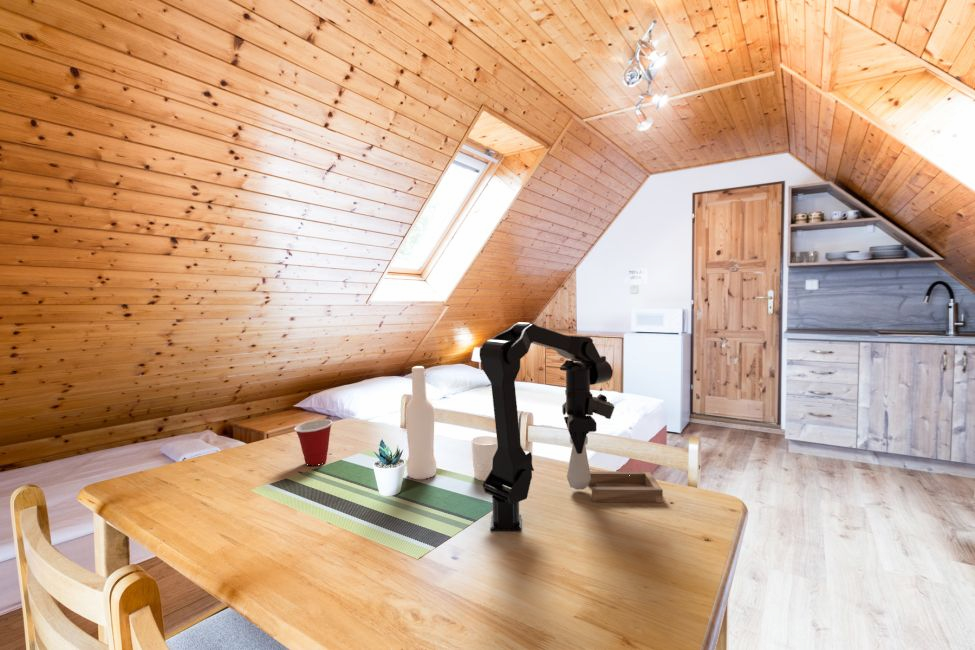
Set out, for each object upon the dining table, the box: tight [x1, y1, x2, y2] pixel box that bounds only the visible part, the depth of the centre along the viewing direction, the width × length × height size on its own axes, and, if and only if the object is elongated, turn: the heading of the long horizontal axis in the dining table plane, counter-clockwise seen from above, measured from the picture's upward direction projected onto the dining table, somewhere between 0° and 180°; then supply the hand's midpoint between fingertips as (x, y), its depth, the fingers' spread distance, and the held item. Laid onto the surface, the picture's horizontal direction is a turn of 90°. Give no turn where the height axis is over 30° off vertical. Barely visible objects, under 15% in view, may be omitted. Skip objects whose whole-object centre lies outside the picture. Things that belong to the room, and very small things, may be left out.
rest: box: [588, 471, 664, 503], centre depth 120 cm, size 12×16×3 cm
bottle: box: [404, 365, 437, 480], centre depth 133 cm, size 8×8×30 cm
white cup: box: [471, 435, 498, 482], centre depth 132 cm, size 8×8×10 cm
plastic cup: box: [293, 419, 333, 465], centre depth 145 cm, size 11×11×12 cm
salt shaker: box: [566, 435, 591, 490], centre depth 120 cm, size 6×6×13 cm
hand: (578, 450), depth 120 cm, fingers closed on salt shaker, 4 cm apart
